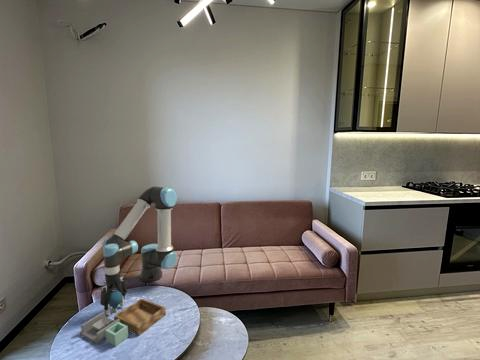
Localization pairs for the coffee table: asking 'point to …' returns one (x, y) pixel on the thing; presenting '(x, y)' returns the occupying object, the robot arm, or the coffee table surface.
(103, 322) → the checker plate
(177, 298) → the coffee table surface
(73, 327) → the coffee table surface
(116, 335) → the cup
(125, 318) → the tray
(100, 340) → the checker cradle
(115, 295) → the light bulb
